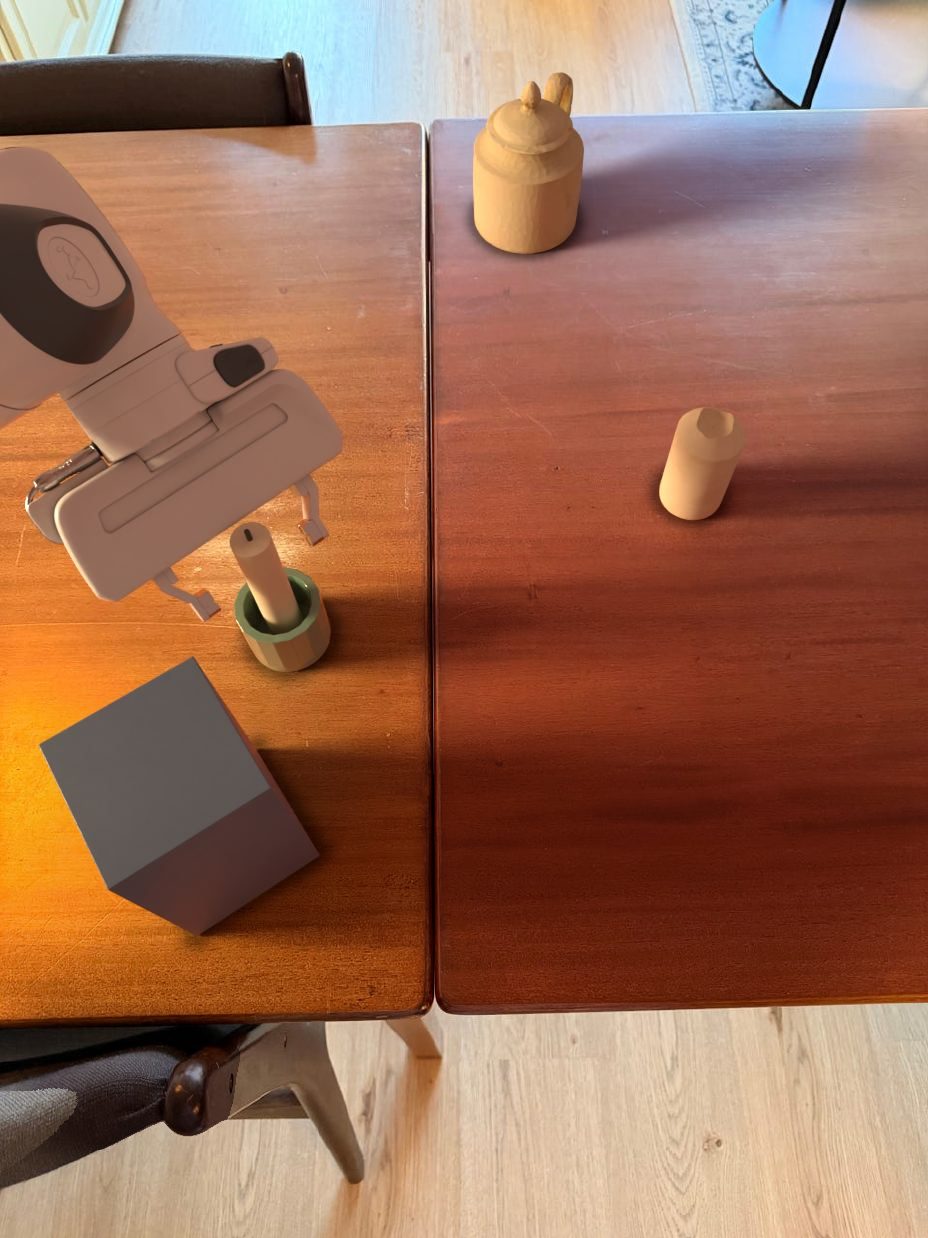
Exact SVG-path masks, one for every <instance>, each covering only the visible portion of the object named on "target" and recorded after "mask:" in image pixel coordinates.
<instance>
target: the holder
mask: <svg viewBox="0 0 928 1238" xmlns="http://www.w3.org/2000/svg"><path fill="white" fill-rule="evenodd" d="M283 568H284V570H285V573H286V576H287V578H288V581H289V583H290V586H291V589H292V591H293V594H294V596H295V599H296V601H297V604H298V607H299V609H300V612H301V614H302V617H303V620H304V621H303V623H302V624H301V625H300V626H299V627H297V628H295V629H293V630H292V631H290V632H288V633H283V634H278V635H272V634H271V632H270V630H269V628H268V626H267V624H266V622H265V619H264V617H263V615H262V613H261V611H260V609H259V607H258V605H257V602H256V600H255V598H254V596H253V594H252V592H251V590H250V588H249V585H248V583H247V581H245V583H244V584H243V585H242V587H240V589H238V592H237V595H236V598H235V601H234V603H233V609H234V610H233V611H234V619H235V622H236V624H237V626H238V628H239V630H240V631H241V633H242V635H243V637H244V639H245V640H246V643H247V645H248V647H249V648H250V649H251V651H252V654H254V656H255V658H256V659H257V660H258V661H259V662H260V664H262V665H263V666H264V667H266V668H268V669H270V670H273V671H277V672H284V673H291V672H297V671H301V670H303V669H306V668H309V667H310V666H311V665H313V664H315V663H316V662H317V661H318V660H320V658H321V657H322V656H323V655H324V653H326V650H327V649H328V647H329V644H330V641H331V635H332V633H331V632H332V631H331V630H332V629H331V625H330V621H329V616H328V613H327V610H326V607H325V603H324V601H323V597H322V594H321V592H320V590H319V587H318V586H317V584H316V582H315V581H314V580H313V578H312V577H311V576H310V575H308V574H306V573H304V572H303V571H301V570H299V569H297V568H292V567H285V566H283Z"/></svg>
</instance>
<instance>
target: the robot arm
mask: <svg viewBox="0 0 928 1238" xmlns="http://www.w3.org/2000/svg"><path fill="white" fill-rule="evenodd" d="M278 363H279V355H278V353H277V351H276V348H275V347H274V345H273V343H271V342H270V340H269V339H267V338H266V337H254V338H249V339H245V340H240V341H234V342H231V343H225V344H223V343H218V344H214V345H213V344H212V345H211V346H209V347H207V348H202V349H197V350H196V349H195V348H193V347H192V346H191V344H190V343H189V341H188V339H187V338H186V336H185V335H184V333H183V332H182V331H181V329H180V327H179V326H178V325H177V324H175V322H174V321H173V320H171V319H170V318H169V317H168V316H167V315H166V313H164V312H163V310H162V309H161V308H160V307H159V305H158V304H157V302H156V301H155V300H154V296H152V294H151V291H150V289H149V286H148V283H147V280H146V277H145V273H144V272H143V270H142V268H141V267H140V265H139V263H138V262H137V260H136V259H135V257H134V256H133V255H132V253H131V251H130V250H129V248H128V247H127V245H126V244H125V242H124V240H123V239H122V238H121V237H120V235H119V234H118V232H117V231H116V229H115V228H114V226H113V225H112V224H111V222H110V221H109V219H108V218H107V216H105V214H104V213H103V212H102V210H101V209H100V207H99V206H98V205H97V203H96V202H95V201H94V200H93V199H92V197H91V196H90V194H88V192H87V191H86V190H85V188H83V186H82V185H81V184H80V183H79V182H78V180H77V179H76V178H75V177H74V176H73V175H72V173H70V171H68V169H67V168H66V167H65V166H64V165H63V164H62V163H61V162H60V161H59V160H58V159H57V158H56V157H54V155H52V154H51V153H49V152H48V151H46V150H44V149H41V148H37V147H31V146H9V147H5V148H1V149H0V431H1V430H3V429H5V428H6V427H7V426H9V425H11V424H13V423H15V422H16V421H18V420H19V419H20V418H23V417H24V416H25V415H28V414H29V413H30V412H32V411H35V410H36V409H37V408H39V407H40V406H42V404H43V403H45V402H47V401H48V400H50V399H51V398H53V397H55V396H56V395H58V396H59V398H60V399H61V401H62V402H63V403H64V405H65V406H66V407H67V409H68V410H69V412H70V413H71V414H72V416H73V417H74V419H75V420H76V421H77V423H78V424H79V425H80V427H81V428H82V430H83V431H84V433H85V434H86V435H87V437H88V438H89V440H90V441H91V443H90V444H88V445H86V446H84V447H83V448H82V449H80V450H78V451H76V452H75V453H73V454H72V455H70V456H69V457H68V458H67V459H65V460H64V461H63V462H61V463H60V464H58V465H57V466H55V467H53V468H52V469H48V470H45V471H44V472H42V473H40V474H39V475H37V477H35V478H34V479H33V481H32V483H33V486H32V487H31V488H30V490H29V491H28V492H27V494H26V497H25V505H24V507H25V511H26V512H25V513H26V514H27V517H28V519H29V520H30V521H31V523H32V524H33V525H34V526H35V528H36V529H37V530H38V531H39V533H40V534H41V535H42V537H44V539H46V540H47V541H49V542H51V543H53V544H56V545H60V546H64V547H65V549H66V551H67V554H68V555H69V556H70V558H71V560H72V562H73V563H74V565H75V566H76V568H77V570H78V572H79V574H80V575H81V576H82V578H83V580H84V581H85V582H86V584H87V585H88V586H89V588H90V590H91V591H92V593H94V595H95V596H96V597H97V598H98V599H100V600H103V601H107V602H112V603H117V602H120V601H122V600H123V599H125V598H127V597H128V596H130V595H131V594H133V593H134V592H136V591H137V590H138V589H140V588H142V587H143V586H144V585H146V584H147V583H149V582H150V581H151V582H152V583H153V584H154V585H155V587H156V588H157V589H158V590H159V591H160V592H161V593H163V594H166V595H168V596H169V597H172V598H174V599H177V600H179V601H182V602H183V603H186V604H188V605H189V606H190V607H191V609H192V610H193V612H194V613H195V614H196V615H197V617H198V618H199V619H200V620H201V621H202V622H203V623H206V622H208V621H210V619H212V618H213V617H215V616H216V615H218V614H219V613H220V612H222V607H220V605H219V604H218V603H217V602H215V599H214V596H212V594H211V593H210V592H209V590H208V589H206V588H201V589H200V590H198V591H196V592H195V593H192V592H190V591H188V590H185V589H184V588H181V587H179V586H177V585H175V584H176V583H178V582H179V577H178V576H177V575H176V573H175V572H174V570H173V569H172V566H174V565H176V564H177V563H179V562H181V561H182V560H183V559H185V558H186V557H188V556H189V555H191V554H193V553H194V552H195V551H196V550H199V548H201V547H203V546H204V545H206V544H207V543H209V542H210V541H212V540H214V539H215V538H217V537H218V536H219V535H221V534H222V533H224V532H226V531H227V530H229V529H230V528H232V527H233V526H235V525H236V524H238V523H239V522H240V521H242V520H244V519H245V518H246V517H248V516H249V515H251V514H253V513H254V512H256V511H257V510H258V509H260V508H261V507H263V506H264V505H266V504H267V503H269V502H271V501H272V500H273V499H275V498H277V497H278V496H279V495H281V494H282V493H284V492H285V491H287V490H288V489H289V491H290V493H291V495H292V496H294V497H301V508H302V520H301V521H299V522H298V523H297V524H296V525H294V526H295V528H296V530H297V531H298V533H299V534H301V535H302V539H303V540H304V542H305V543H306V544H307V545H308V546H309V547H313V548H314V547H315V546H317V545H318V544H319V543H321V542H323V541H325V540H326V539H327V538H329V537H330V533H329V531H328V529H327V528H326V526H325V524H324V522H323V521H322V520H321V518H320V516H319V515H320V502H319V501H320V500H319V499H320V497H319V486H318V485H317V483H316V482H315V480H314V479H313V476H312V475H311V474H312V473H314V472H316V471H317V470H319V469H320V468H322V467H323V466H324V465H326V464H327V463H329V462H331V461H332V460H333V459H335V458H336V457H338V456H339V455H340V454H342V452H343V446H344V445H343V444H344V435H343V432H342V429H340V426H339V425H338V424H337V422H336V420H335V419H334V417H333V416H332V414H331V412H330V411H329V410H328V408H327V406H326V405H325V404H324V403H323V402H322V400H321V399H320V398H319V395H317V393H316V392H315V391H314V390H313V389H312V388H311V386H310V384H308V383H307V382H306V381H305V379H303V377H301V376H300V375H299V374H298V373H296V372H294V371H292V370H291V369H290V370H289V369H286V368H276V367H277V365H278ZM275 368H276V369H275ZM108 464H109V465H108ZM38 493H41V494H42V495H40V496H39V497H37V498H35V496H36V495H37V494H38ZM34 498H35V499H34Z"/></svg>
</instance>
